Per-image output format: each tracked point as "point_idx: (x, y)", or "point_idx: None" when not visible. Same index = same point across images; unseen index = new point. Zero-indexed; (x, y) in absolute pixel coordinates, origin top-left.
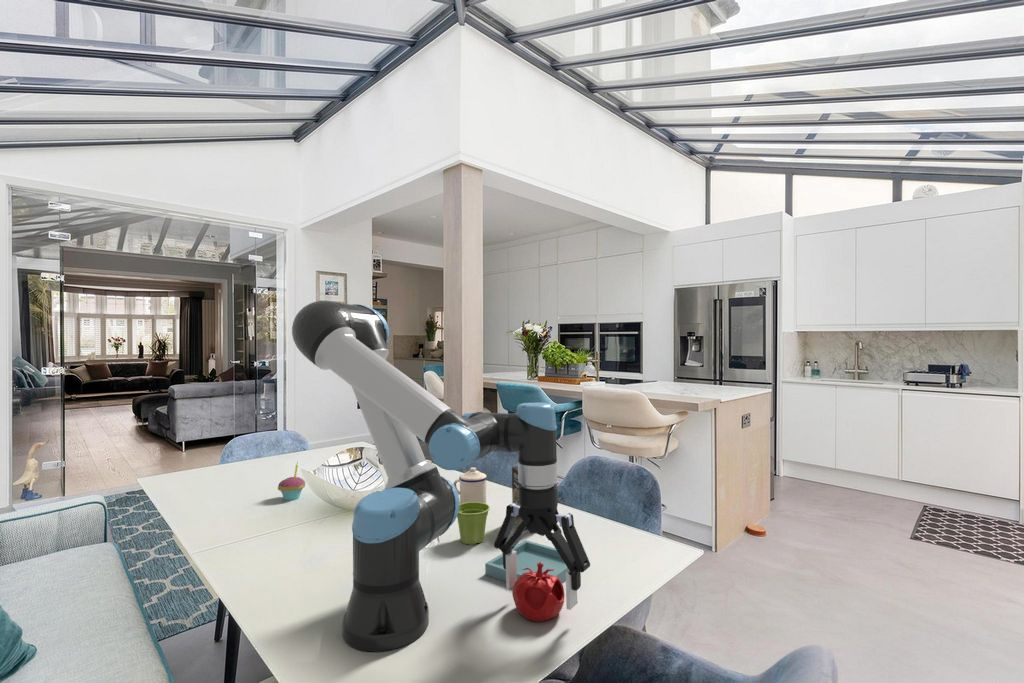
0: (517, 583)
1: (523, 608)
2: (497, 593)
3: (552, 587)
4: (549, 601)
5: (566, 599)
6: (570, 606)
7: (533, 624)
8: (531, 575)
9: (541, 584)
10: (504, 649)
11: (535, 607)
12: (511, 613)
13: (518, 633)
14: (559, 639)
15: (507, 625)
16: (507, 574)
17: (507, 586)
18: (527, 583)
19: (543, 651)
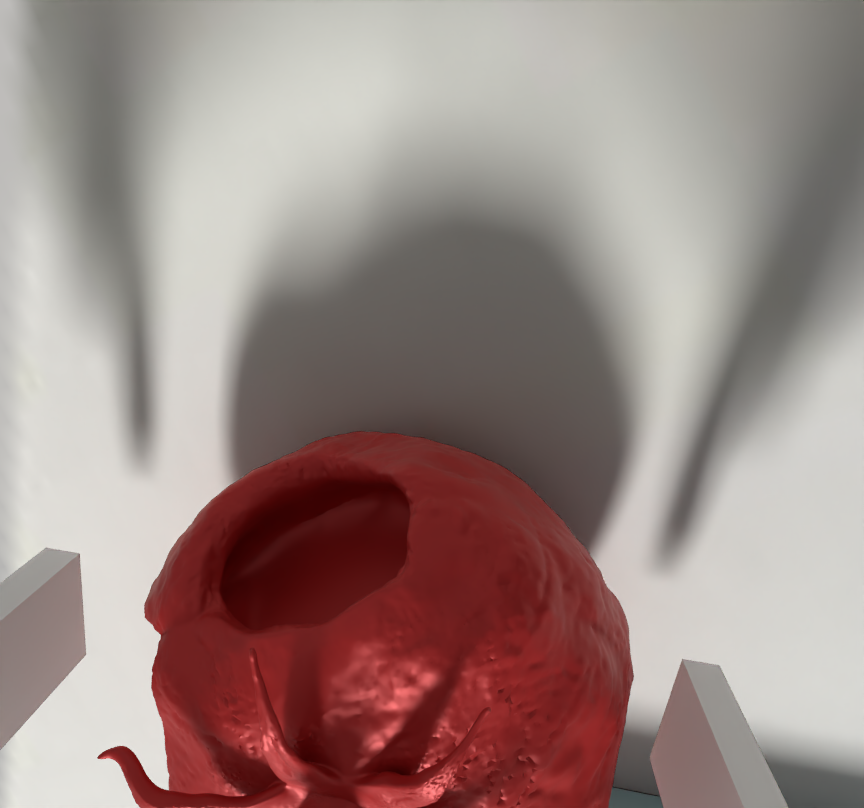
0: (557, 662)
1: (426, 446)
2: (809, 678)
3: (154, 696)
4: (177, 547)
5: (20, 601)
6: (28, 568)
7: (369, 422)
8: (388, 789)
9: (244, 689)
10: (412, 3)
11: (358, 520)
12: (585, 483)
13: (414, 267)
14: (128, 337)
15: (543, 326)
16: (757, 787)
17: (711, 679)
18: (392, 651)
19: (143, 146)
